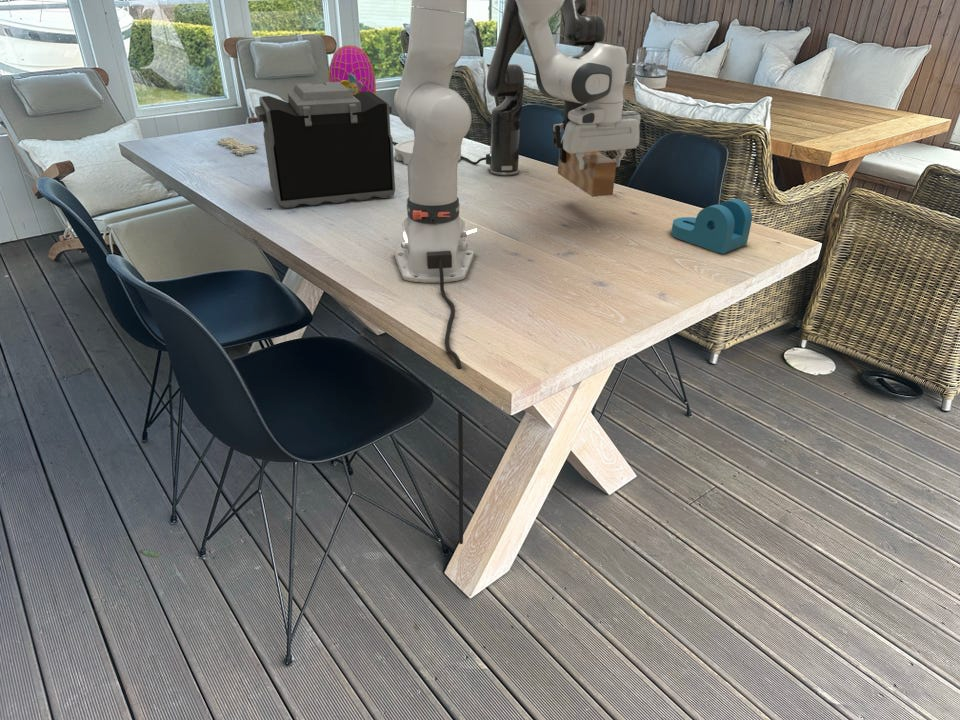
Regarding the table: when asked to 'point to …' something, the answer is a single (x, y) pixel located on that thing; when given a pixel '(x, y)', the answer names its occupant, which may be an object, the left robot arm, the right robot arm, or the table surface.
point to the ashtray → (407, 151)
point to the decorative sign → (237, 146)
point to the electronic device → (327, 145)
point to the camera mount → (716, 226)
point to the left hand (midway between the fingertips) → (599, 167)
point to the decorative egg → (352, 67)
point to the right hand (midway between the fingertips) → (574, 161)
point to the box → (590, 173)
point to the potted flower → (352, 84)
